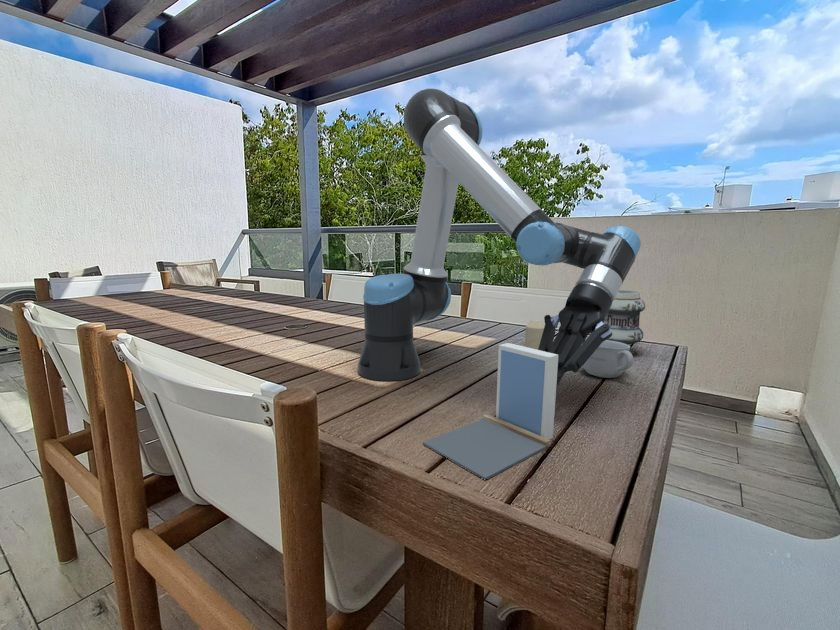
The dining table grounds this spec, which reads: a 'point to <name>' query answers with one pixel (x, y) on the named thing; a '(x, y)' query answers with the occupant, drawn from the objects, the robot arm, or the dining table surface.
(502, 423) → the oak strip
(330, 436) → the dining table surface
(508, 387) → the tile
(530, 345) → the candle
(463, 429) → the mat
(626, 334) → the apothecary jar
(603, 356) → the teacup
